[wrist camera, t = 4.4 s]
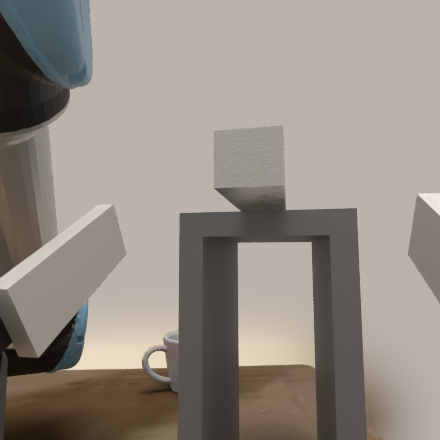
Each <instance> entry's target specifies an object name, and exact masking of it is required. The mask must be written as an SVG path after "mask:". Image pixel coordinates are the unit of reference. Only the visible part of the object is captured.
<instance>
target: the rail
mask: <svg viewBox="0 0 440 440" xmlns="http://www.w3.org/2000/svg"><path fill="white" fill-rule="evenodd" d="M214 189H216V190H217V191H218V192H219V193H220V194H222V195H223V196H224V197H225V198H226V199H227V200H228V201H230V202H231V203H232V204H233V205H234V206H236V207H237V208H238V209H239V210H240V211H241V212H243V211H279V210H286V195H285V167H284V141H283V126H272V127H259V128H247V129H235V130H222V131H214Z"/></svg>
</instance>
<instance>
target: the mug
mask: <svg viewBox="0 0 440 440" xmlns="http://www.w3.org/2000/svg"><path fill="white" fill-rule="evenodd" d="M163 340H164V345H155V346H153V347H151V348H149V349H148V350H147V351H146V352H145V354H144V357H143V359H142V366H143V369H144V371H145V373H146V374H147V375H148V376H149V377H150V378H151V379H153V380H155V381H157V382H160V383H165V384H168V383H169V384H170V388H171V390H173V391H174V392H177V393H178V351H179V330H176V331H172V332H169V333H167V334H165V335H164V338H163ZM155 351H164V352H165V354H166V362H167V369H168V376H169V377H162V376H160V375H157V374H156V373H154V372H153V371H152V370H151V369H150V367H149V365H148V358H149V356H150V355H151V354H152V353H153V352H155Z"/></svg>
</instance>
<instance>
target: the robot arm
mask: <svg viewBox="0 0 440 440" xmlns="http://www.w3.org/2000/svg"><path fill="white" fill-rule="evenodd" d="M89 13H90V8H89V0H0V440H3V437H4V419H5V401H6V383H7V377H10V376H18V375H26V374H35V373H43V372H46V373H54V372H56V371H57V370H63V369H68V368H72V367H73V366H75V365H76V364H77V363H78V362H79V360H80V358H81V355H82V351H83V346H84V335H85V332H86V325H87V315H88V299H89V298H90V296H91V295H92V294H93V293H94V292H95V290H96V289H97V288H98V287H99V286H100V285H101V283H102V282H103V281H104V280H105V279H106V278H107V276H108V275H109V274H110V273H111V272H112V270H113V269H114V268H115V267H116V266H117V265H118V263H119V262H120V261H121V260H122V259H123V258H124V256H125V255H126V251H125V247H124V243H123V240H122V236H121V232H120V228H119V224H118V220H117V217H116V213H115V209H114V205H113V204H107V205H98V206H97V207H95V208H94V209H93V210H91V211H90V212H88V213H87V214H86V215H85V216H83V217H82V218H80V219H79V220H78V221H76V222H75V223H74V224H72V225H71V226H70V227H68V228H67V229H66V230H64V231H63V232H62V233H60V234H59V235H58V231H57V220H56V209H55V198H54V186H53V175H52V165H51V152H50V141H49V130H48V125H49V124H50V123H52V122H53V121H55V120H56V119H57V118H59V117H60V116H61V115H62V114H63V113H64V111H65V110H66V109H67V107H68V104H69V98H70V91H69V90H70V89H74V88H76V87H81V86H85V85H87V84H88V83H89V82H90V80H91V76H92V38H91V26H90V17H89ZM408 255H409V257H410V258H411V260H412V261H413V263H414V264H415V266H416V268H417V269H418V271H419V272H420V274H421V275H422V277H423V278H424V280H425V281H426V283H427V284H428V286H429V287H430V289H431V290H432V292H433V293H434V295H435V297H436V298H437V300H438V301H439V303H440V194H439V193H431V194H417V199H416V205H415V212H414V218H413V225H412V232H411V238H410V245H409V251H408Z"/></svg>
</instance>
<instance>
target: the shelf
mask: <svg viewBox="0 0 440 440" xmlns="http://www.w3.org/2000/svg"><path fill="white" fill-rule="evenodd" d="M179 240H180V242H179V244H180V245H179V250H180V251H179V351H178V440H239V366H238V254H237V253H238V248H237V247H238V246H237V245H238V244H237V243H238V242H312V267H313V298H314V299H313V301H314V335H315V368H316V402H317V435H318V440H367V435H366V412H365V391H364V369H363V344H362V321H361V298H360V275H359V252H358V229H357V209H356V208H353V209H352V208H351V209H316V210H279V211H243V212H209V213H208V212H207V213H180V239H179Z"/></svg>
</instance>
